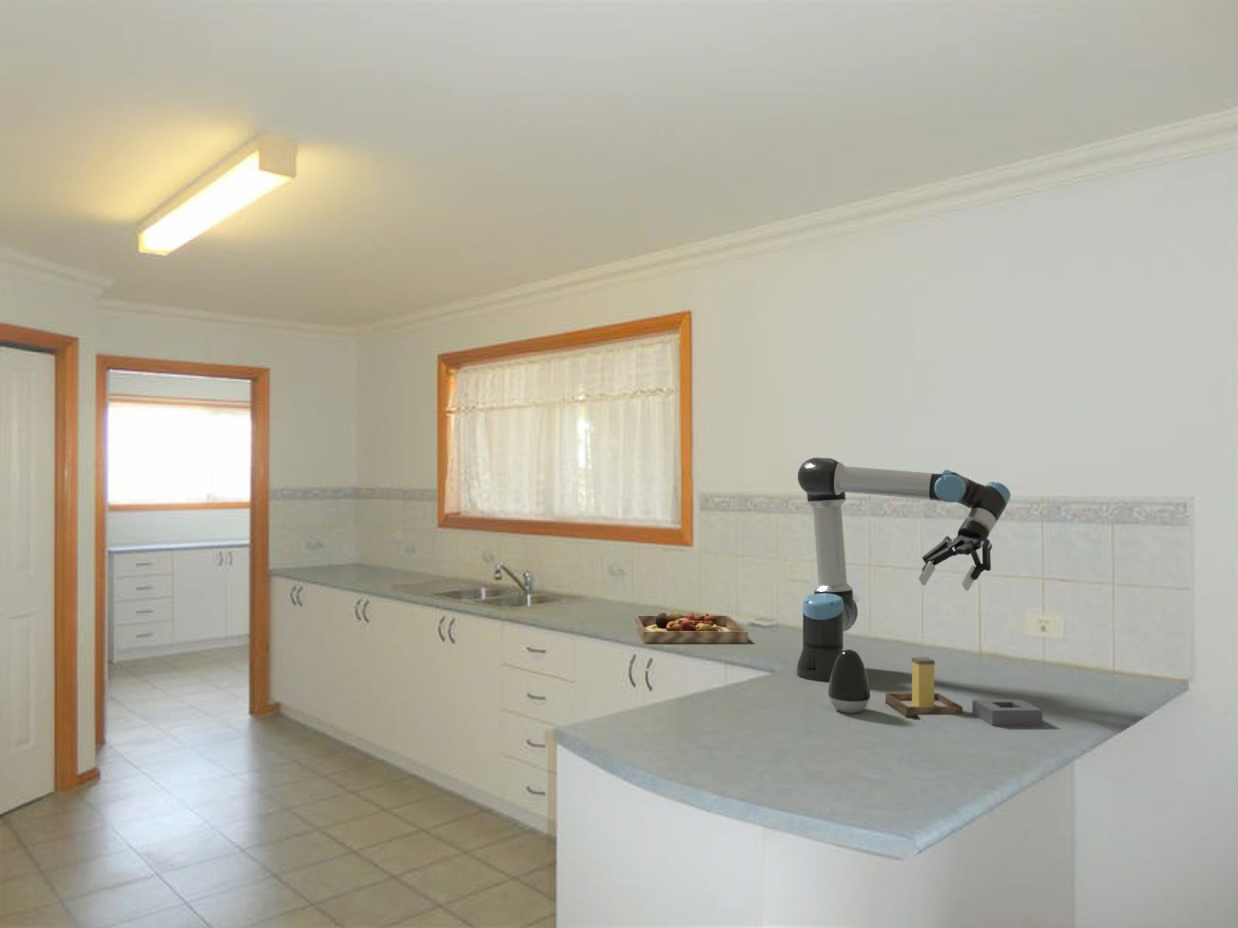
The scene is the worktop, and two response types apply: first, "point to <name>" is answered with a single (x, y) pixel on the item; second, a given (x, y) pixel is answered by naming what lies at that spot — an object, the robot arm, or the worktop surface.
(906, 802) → the worktop surface
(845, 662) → the black egg shaped container
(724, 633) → the wooden fruit tray
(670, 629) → the wooden plate with food
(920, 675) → the plug
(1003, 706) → the grey block with hole
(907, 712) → the tray
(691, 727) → the worktop surface
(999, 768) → the worktop surface
